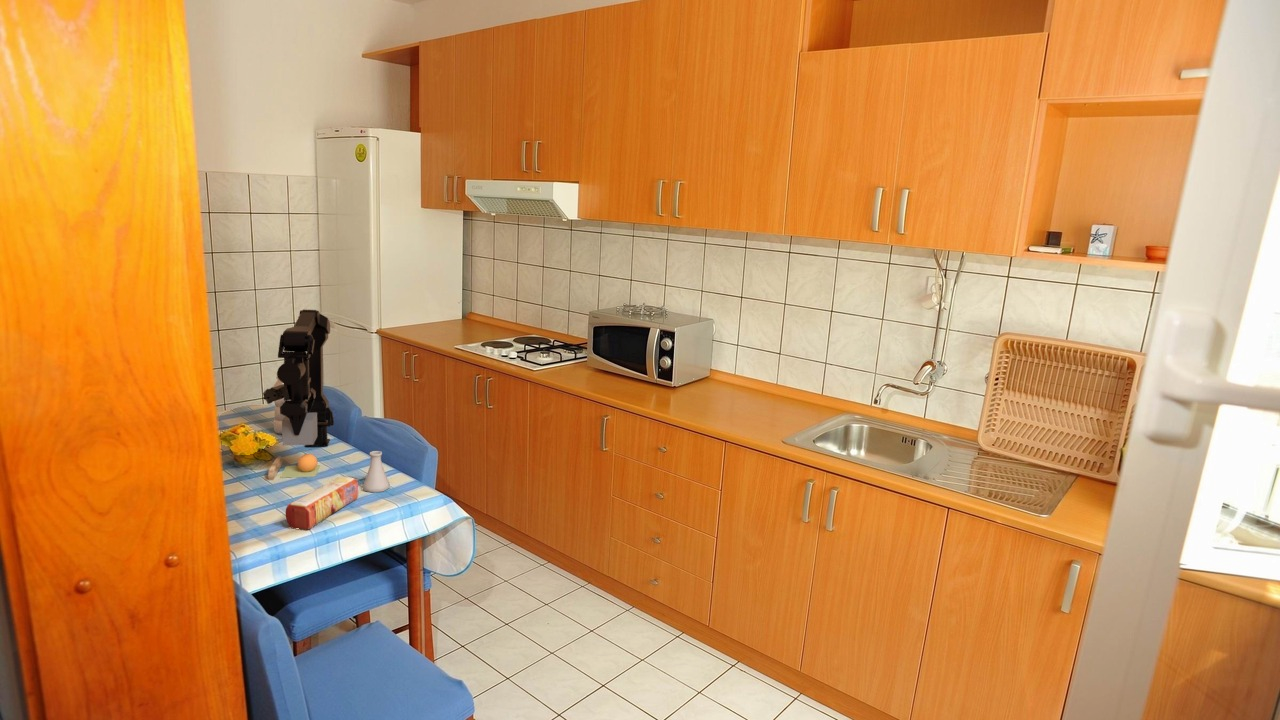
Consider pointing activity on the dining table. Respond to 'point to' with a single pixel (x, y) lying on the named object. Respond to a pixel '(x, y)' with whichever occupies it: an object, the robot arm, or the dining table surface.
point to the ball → (307, 462)
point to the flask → (376, 475)
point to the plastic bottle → (278, 411)
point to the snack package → (321, 503)
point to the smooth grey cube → (306, 433)
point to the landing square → (298, 472)
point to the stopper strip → (274, 468)
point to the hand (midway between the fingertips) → (299, 430)
